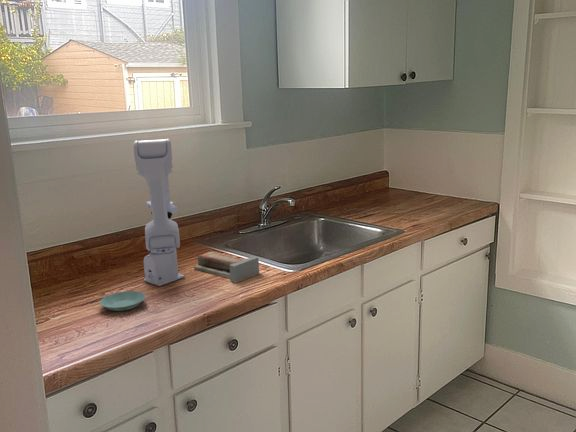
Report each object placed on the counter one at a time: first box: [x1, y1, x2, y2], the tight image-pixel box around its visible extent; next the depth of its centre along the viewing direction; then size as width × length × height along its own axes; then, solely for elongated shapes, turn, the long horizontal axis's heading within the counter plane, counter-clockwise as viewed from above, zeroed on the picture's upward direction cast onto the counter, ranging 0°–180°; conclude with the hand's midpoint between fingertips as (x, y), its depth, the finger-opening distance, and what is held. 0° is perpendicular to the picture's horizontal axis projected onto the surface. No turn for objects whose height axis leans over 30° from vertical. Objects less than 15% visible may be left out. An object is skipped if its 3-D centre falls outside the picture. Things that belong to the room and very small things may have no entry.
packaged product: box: [193, 250, 246, 280], centre depth 181 cm, size 18×5×10 cm
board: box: [229, 256, 260, 283], centre depth 173 cm, size 10×2×5 cm, turn 138°
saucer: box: [99, 290, 147, 312], centre depth 156 cm, size 12×12×2 cm
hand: (164, 231), depth 188 cm, fingers closed
